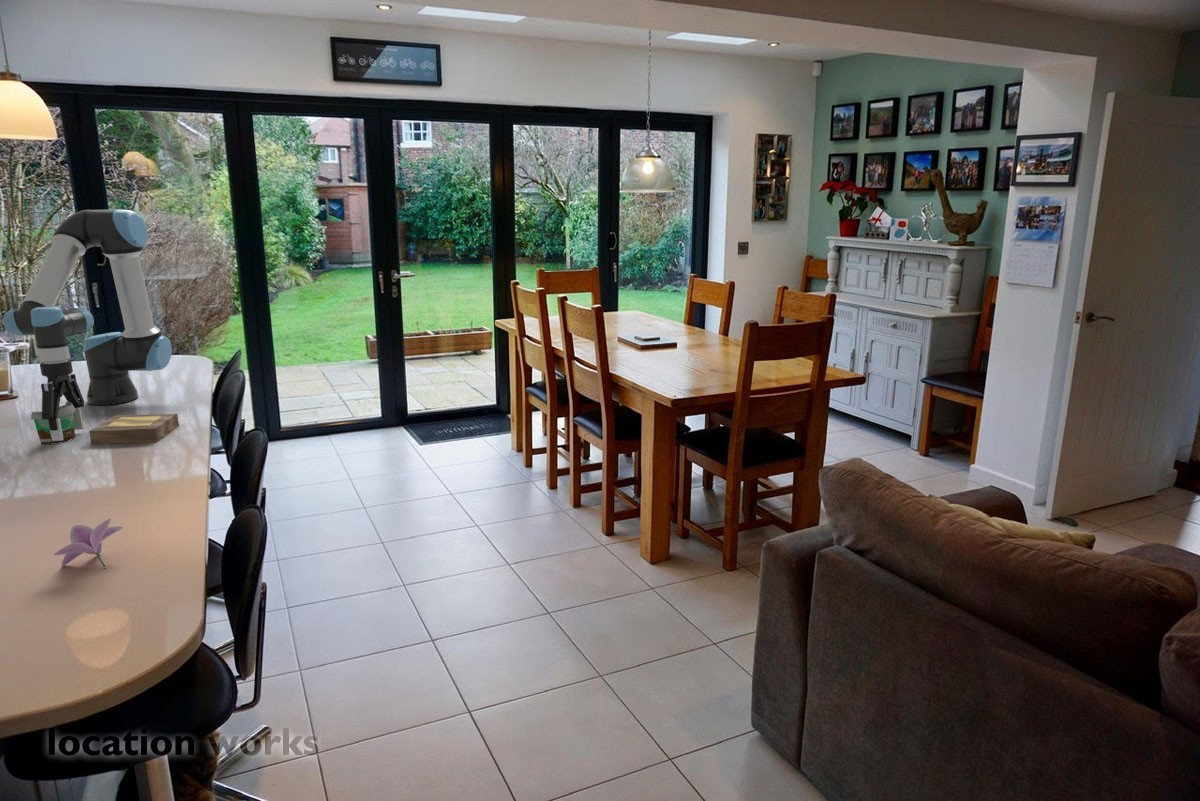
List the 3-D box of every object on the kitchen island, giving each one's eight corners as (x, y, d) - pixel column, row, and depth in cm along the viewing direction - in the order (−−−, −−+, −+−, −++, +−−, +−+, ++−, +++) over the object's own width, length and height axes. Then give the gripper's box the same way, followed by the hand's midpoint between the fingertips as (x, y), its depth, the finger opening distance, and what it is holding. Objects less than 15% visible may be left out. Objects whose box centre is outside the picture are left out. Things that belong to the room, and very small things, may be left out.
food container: (54, 447, 223) (47, 413, 220) (36, 446, 224) (29, 412, 222) (90, 434, 234) (84, 402, 232) (73, 433, 236) (67, 401, 233)
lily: (138, 552, 160) (114, 512, 159) (133, 552, 150) (107, 509, 149) (75, 585, 154) (50, 543, 154) (66, 588, 144) (38, 543, 143)
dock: (117, 428, 241) (115, 415, 240) (179, 425, 243) (177, 412, 242) (91, 444, 225) (88, 430, 224) (157, 441, 227) (155, 427, 226)
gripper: (62, 353, 235) (75, 424, 241) (17, 369, 213) (31, 447, 218) (89, 353, 236) (101, 423, 242) (46, 369, 214) (60, 446, 219)
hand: (68, 434), depth 230 cm, fingers closed on food container, 11 cm apart
